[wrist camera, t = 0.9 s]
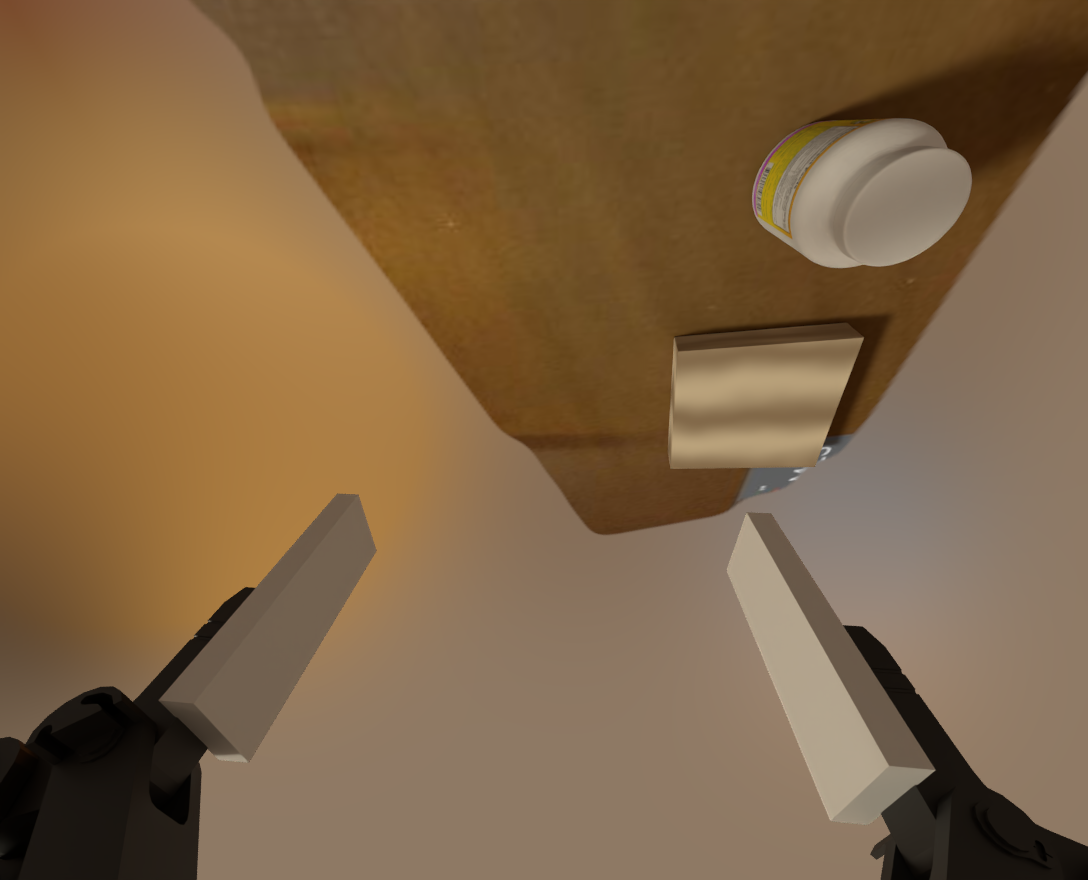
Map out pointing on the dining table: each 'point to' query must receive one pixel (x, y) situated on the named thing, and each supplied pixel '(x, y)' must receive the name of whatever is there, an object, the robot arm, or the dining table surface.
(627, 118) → the dining table surface
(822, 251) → the supplement bottle
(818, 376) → the birch stand
